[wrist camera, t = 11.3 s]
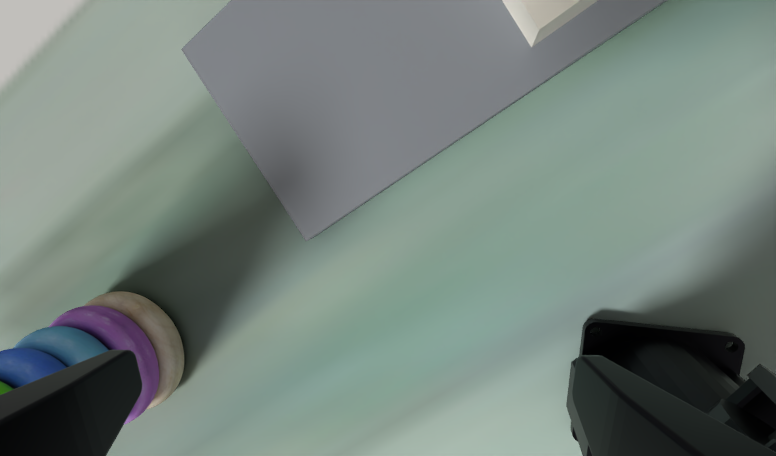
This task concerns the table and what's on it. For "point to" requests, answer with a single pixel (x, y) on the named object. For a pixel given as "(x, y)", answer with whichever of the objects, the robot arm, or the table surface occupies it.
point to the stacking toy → (103, 345)
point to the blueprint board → (380, 82)
